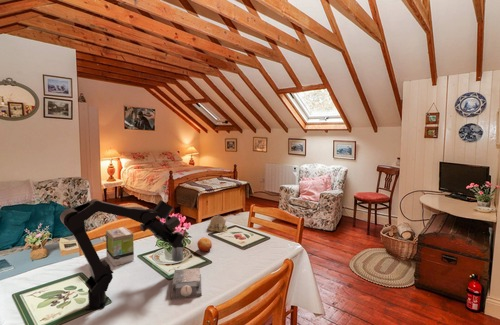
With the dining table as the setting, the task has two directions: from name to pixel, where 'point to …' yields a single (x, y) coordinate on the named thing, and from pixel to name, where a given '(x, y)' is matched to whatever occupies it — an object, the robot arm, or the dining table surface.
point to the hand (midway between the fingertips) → (180, 244)
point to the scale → (186, 290)
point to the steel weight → (177, 252)
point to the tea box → (119, 246)
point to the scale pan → (186, 276)
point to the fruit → (204, 244)
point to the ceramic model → (217, 224)
